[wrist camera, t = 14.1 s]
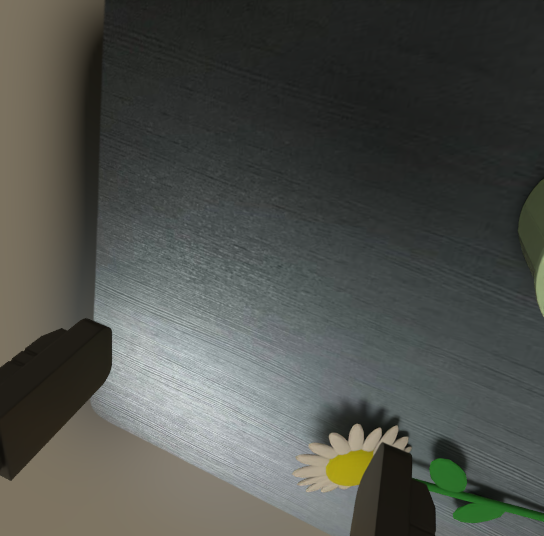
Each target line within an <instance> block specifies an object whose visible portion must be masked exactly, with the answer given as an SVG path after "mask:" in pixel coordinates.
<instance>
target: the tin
mask: <svg viewBox="0 0 544 536" xmlns="http://www.w3.org/2000/svg"><path fill="white" fill-rule="evenodd" d="M518 235H519V241H520V244H521V247H522V252H523V255H524V258H525V260H526V262H527V265H528V267H529V269H530V271H531V274H532V276H533V278H534V275H535V270H536V265H537V262H538V259H539V257H540V254H541V252H542V250H543V248H544V179H543V180H541V181H540V182H539V183H538V185H537V186H536V187H535V188H534V189H533V190H532V192H531V193H530V195H529V196H528V198H527V200H526V202H525V204H524V206H523V208H522V211H521V214H520V218H519V223H518Z"/></svg>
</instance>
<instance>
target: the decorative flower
mask: <svg viewBox="0 0 544 536" xmlns="http://www.w3.org/2000/svg"><path fill="white" fill-rule="evenodd" d="M397 433H398V426H393V427H392V428H390V429H389V430H388V431H387V432H386V433H385V434H384V436H383V437H382V438H381V436H382V429H381V428H377V429H375V430H374V431H373V432H371V433H370V434H369V435H368V437H367V438H366V440H365V441H364V432H363V429H362V427H361V425H360V424H355V425H354V426H353V427H352V429H351V431H350V433H349V440H348V441H347V440H346V439H345V438H344V437H343V436H341V435H339V434H338V433H331V434H330V435H329V440H330V443H331V445H332V447H333V448H332V447H330V446H328V445H325V444H321V443H311V444H309V448H310V449H311V450H312V452H314V453H316V454H318V455H313V454H303V455H298V456H296V459H297V460H298V461H300V462H301V463H304V464H308V465H310V466H306V467H302V468H300V469H297V470H295V471H294V472H293V473H292V475H294V476H296V477H302V478H306V477H309V478H306V479H304V480H302V481H300V482H299V483H298V484H297V485H300V486H302V485H309V484H312V485H311V486H309V487H308V488H307V489H306V492H311V491H315V490H318V489H320V488H322V489H321V492H328V491H332V490H333V489H335V488H337V487H339V488H341V489H347V488H349V487H351V486H355V485H359V484H360V481H361V479H362V476H363V474H364V472H365V470H366V469H367V467H368V465H369V463H370V461H371V460H372V458H373V456H374V454H375V452H376V451H377V449H378V447H379V445H380V444H381V443H382V442H384V443H386V444H389V445H391V446H394V447H396V448H398V449H401V450H403V451H406V452H408V453H409V452H410V451H411V448H412V447H407V448H405V446H406V445H407V443H408V437H402V438H400V439H398V440H396V441H395V439H396V436H397ZM380 438H381V440H380ZM379 440H380V441H379ZM394 441H395V442H394ZM429 470H430V475H431V479H432V480H433V481H434V482H435V483H436V484H433V483H429V482H426V481H422V480H418V479H415V480H417V481H420V482H422V483H424V484H427V487H428V489H429V491H432V492H436V493H439V494H443V495H447V496H450V497H454V498H458V499H461V500H465V501H469V502H472V503H471V504H467V505H465V506H462V507H459V508H457V510H456V511H455V512H454V513H453V518H454V519H456V520H458V521H460V522H467V523H478V522H484V521H489V520H492V519H495V518H498V517H501V515H502V514H503V513H504V512H505V511H506V512H509V513H513V514H517V515H520V516H524V517H528V518H531V519H535V520H539V521H543V522H544V513H541V512H537V511H533V510H530V509H526V508H522V507H519V506H515V505H511V504H507V503H504V502H500V501H496V500H493V499H489V498H485V497H481V496H478V495H474V494H470V493H466V492H463V491H464V490H465V487H466V485H467V479H466V474H465V473H464V471H463V470H462V469H461V468H460V466H459V465H457V464H456V463H454V462H452V461H451V460H449V459H441V458H438V459H436V460H434V461H432V462H431V465H430V468H429ZM413 479H414V478H413Z"/></svg>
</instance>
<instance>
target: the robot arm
mask: <svg viewBox="0 0 544 536" xmlns="http://www.w3.org/2000/svg"><path fill="white" fill-rule="evenodd" d="M111 367H112V330H111V328H109V327H107V326H105V325H102V324H100V323H97V322H95V321H92V320H90V319H86V318H85V319H82V320H80V321H79V322H78V323H77V324H75V325H74V326H73V327H72V328H70V329H69V330H68V331H67V330H64V329H62V328H61V329H59V330H56V331H53V332H51V333H48V334H46V335H43V336H41V337H40V338H39V339H37V340H36V341H35V342H33V343H32V344H31V345H29V346H28V347H27V348H25V351H21V352H20V353H19V354H18V355H16V356H15V357H13V358H12V360H11V361H8V362H7V363H6V364H4V365H3V366H2V367H0V475H1V476H2V477H4V478H6V479H8V480H10V481H11V480H12V479H13V478H14V477H15V476H16V475H17V474H18V473H19V472H20V471H21V470H22V469H23V468H24V467H25V466H26V464H28V462H29V461H30V460H31V459H32V458H33V457H34V456H35V455H36V454H37V453H38V452H39V451H40V450H41V449H42V448H43V446H45V445H46V443H48V442H49V440H50V439H51V438H52V437H53V436H54V435H55V434H56V433H57V432H58V431H59V430H60V429H61V428H62V427H63V426H64V425H65V424H66V423H67V421H68V420H69V419H70V418H71V417H72V416H73V415H74V414H75V413H76V412H77V411H78V410H79V409H80V408H81V407H82V406H83V405H84V404H85V402H86V401H88V400H89V399H90V397H91V396H92V395H93V394H94V393H95V392H96V391H97V390H98V389H99V388H100V387H101V386H102V385H103V384H104V382H105V381H106V379H107V377H108V375H109V373H110V371H111ZM435 532H436V512H435V505H434V503H433V500H432V497H431V495H430V492H429V489H428V487H427V484H424V483H422V482H420V481H417V480H415V479H413V478H412V455H411V454H410V453H408V452H406V451H403V450H401V449H398V448H396V447H394V446H391V445H389V444H386V443H384V442H382V443H381V444H380V445H379V447H378V449H377V451H376V452H375V454H374V456H373V458H372V460H371V461H370V463H369V465H368V467H367V469H366V470H365V472H364V474H363V476H362V479H361V481H360V484H359V487H358V491H357V495H356V500H355V506H354V513H353V519H352V525H351V531H350V536H435Z"/></svg>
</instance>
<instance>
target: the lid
mask: <svg viewBox="0 0 544 536" xmlns="http://www.w3.org/2000/svg"><path fill="white" fill-rule="evenodd" d="M534 289H535V296H536V299H537V303H538V306H539V308H540V311H541V313H542V314H543V316H544V248H543V250H542V252H541V254H540V257H539V259H538V262H537V265H536V270H535V275H534Z"/></svg>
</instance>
